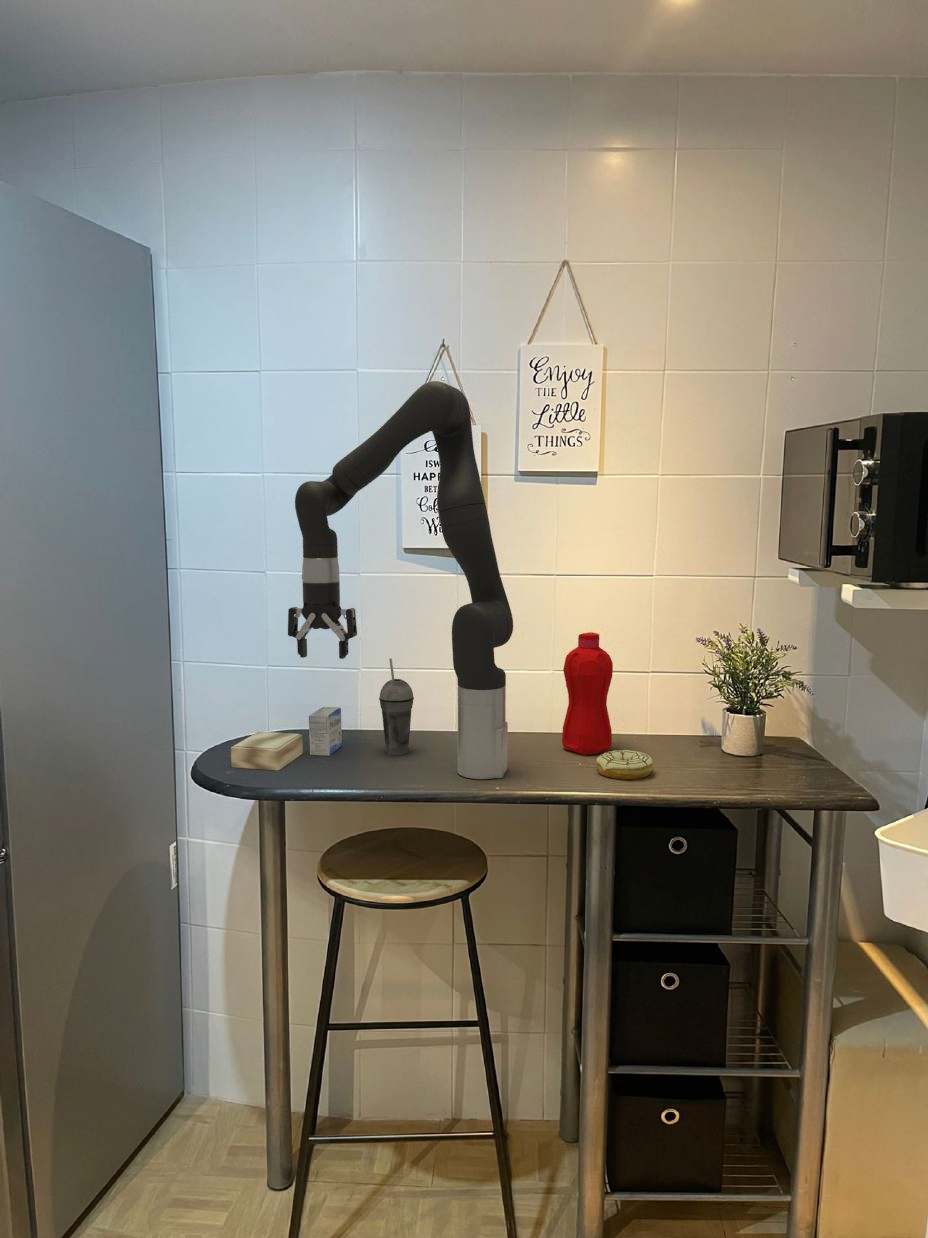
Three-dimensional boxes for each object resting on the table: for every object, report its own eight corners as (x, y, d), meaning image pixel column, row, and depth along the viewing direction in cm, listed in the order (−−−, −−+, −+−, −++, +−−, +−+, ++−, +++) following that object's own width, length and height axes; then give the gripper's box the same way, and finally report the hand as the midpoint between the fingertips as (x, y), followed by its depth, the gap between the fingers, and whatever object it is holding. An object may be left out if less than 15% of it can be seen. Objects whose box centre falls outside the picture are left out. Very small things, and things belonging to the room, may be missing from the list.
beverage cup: (419, 755, 181) (418, 660, 178) (385, 758, 178) (384, 662, 176) (408, 746, 188) (407, 654, 185) (375, 749, 185) (374, 656, 182)
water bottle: (580, 739, 193) (582, 627, 189) (617, 750, 184) (620, 633, 181) (550, 746, 187) (551, 631, 184) (586, 758, 178) (589, 637, 175)
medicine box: (329, 756, 180) (328, 715, 179) (309, 755, 181) (308, 714, 180) (342, 746, 188) (341, 707, 186) (322, 745, 188) (321, 706, 187)
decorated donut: (593, 765, 175) (594, 747, 174) (647, 766, 174) (648, 747, 174) (599, 781, 164) (599, 762, 164) (656, 782, 164) (657, 762, 163)
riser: (302, 753, 182) (302, 733, 182) (278, 770, 170) (278, 749, 170) (258, 750, 184) (257, 731, 184) (231, 767, 173) (230, 746, 172)
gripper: (360, 578, 181) (361, 655, 183) (295, 577, 184) (297, 653, 186) (348, 581, 174) (349, 662, 176) (281, 580, 177) (283, 659, 179)
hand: (322, 657), depth 181 cm, fingers open, 8 cm apart
